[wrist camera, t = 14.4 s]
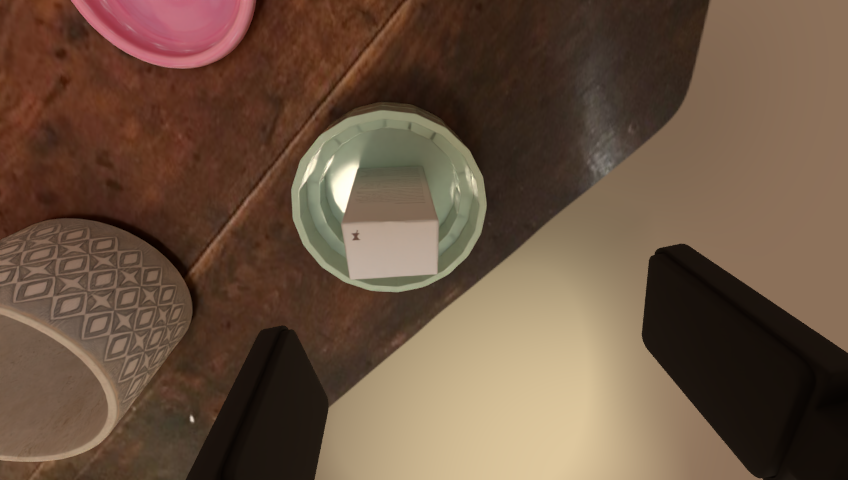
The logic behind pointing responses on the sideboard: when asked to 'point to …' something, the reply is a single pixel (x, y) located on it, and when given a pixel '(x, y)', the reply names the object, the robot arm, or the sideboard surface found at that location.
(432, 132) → the bowl
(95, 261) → the planter
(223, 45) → the saucer
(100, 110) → the sideboard surface
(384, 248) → the cosmetic box
